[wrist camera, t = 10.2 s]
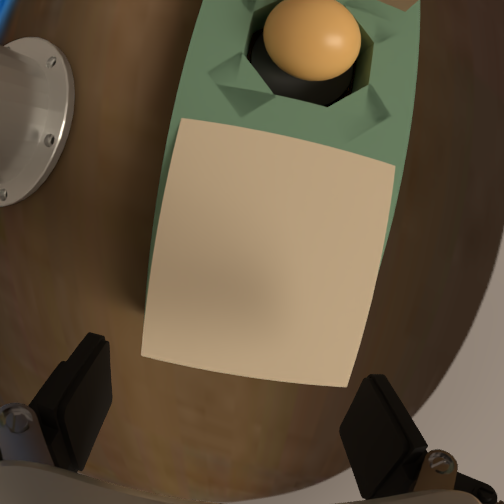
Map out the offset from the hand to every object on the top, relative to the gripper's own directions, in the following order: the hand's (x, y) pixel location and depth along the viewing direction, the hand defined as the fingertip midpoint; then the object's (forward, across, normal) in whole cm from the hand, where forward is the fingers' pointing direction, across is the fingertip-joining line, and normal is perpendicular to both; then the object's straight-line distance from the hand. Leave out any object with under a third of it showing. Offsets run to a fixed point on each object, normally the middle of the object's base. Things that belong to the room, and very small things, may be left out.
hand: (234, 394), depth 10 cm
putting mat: (+10, -1, -9) cm, 13 cm away
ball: (+7, -1, -15) cm, 17 cm away
